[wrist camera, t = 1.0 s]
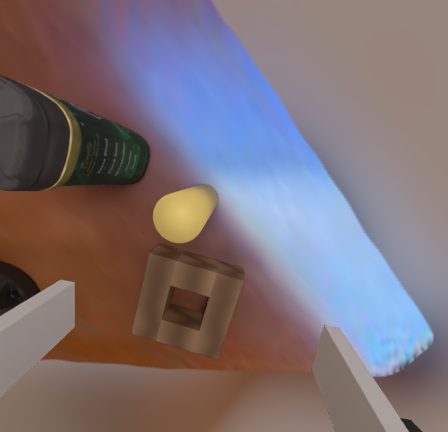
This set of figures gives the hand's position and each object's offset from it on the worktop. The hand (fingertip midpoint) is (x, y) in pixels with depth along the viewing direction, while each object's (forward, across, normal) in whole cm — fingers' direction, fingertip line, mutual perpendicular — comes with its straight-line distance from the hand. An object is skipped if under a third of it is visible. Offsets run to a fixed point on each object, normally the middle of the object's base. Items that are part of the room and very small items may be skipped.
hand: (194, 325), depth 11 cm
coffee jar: (+22, -17, +8) cm, 29 cm away
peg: (+22, -3, +4) cm, 22 cm away
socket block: (+22, -4, -13) cm, 25 cm away
